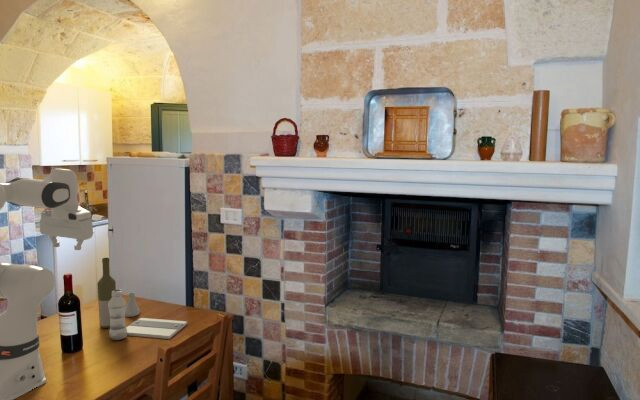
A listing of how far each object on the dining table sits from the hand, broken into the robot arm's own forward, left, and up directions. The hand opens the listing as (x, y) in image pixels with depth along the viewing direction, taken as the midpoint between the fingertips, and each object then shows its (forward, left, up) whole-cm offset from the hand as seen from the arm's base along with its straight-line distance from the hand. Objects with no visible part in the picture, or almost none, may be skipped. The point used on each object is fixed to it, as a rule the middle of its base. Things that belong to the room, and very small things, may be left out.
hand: (67, 248), depth 166 cm
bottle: (+23, 0, -39) cm, 46 cm away
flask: (+38, -2, -40) cm, 55 cm away
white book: (+24, -21, -39) cm, 50 cm away
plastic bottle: (+12, -12, -39) cm, 43 cm away
